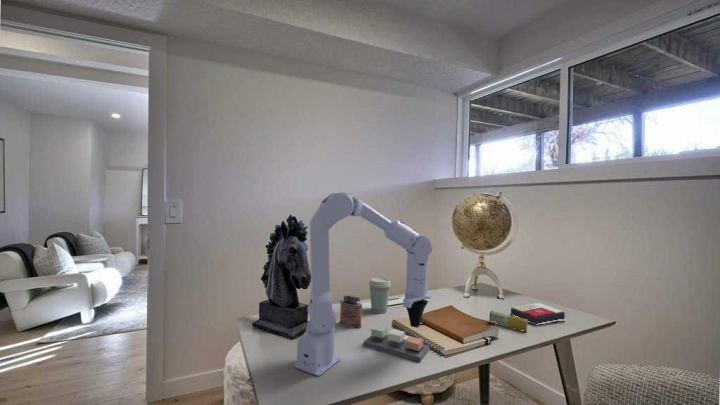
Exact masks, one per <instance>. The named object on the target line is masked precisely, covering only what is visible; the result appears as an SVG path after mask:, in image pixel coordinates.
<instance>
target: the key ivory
mask: <svg viewBox="0 0 720 405" xmlns="http://www.w3.org/2000/svg"><path fill="white" fill-rule="evenodd" d="M405 333H406V332H405V331H402V330H399V329H395V328H392V329H391V330H390V331H389V332H387V335H388V340H392V341H395V342H399V343H400V342H401V341H402V340H403V339H404V338H405V335H406V334H405Z"/></svg>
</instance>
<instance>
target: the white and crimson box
mask: <svg viewBox="0 0 720 405" xmlns="http://www.w3.org/2000/svg"><path fill="white" fill-rule="evenodd" d="M511 314H513V315H515V316H518V317H520V318H523V319H527V320H528V321H530V322H532V323H535V324H538V323H542V322H547V321H553V320H558V319H564V318H566V316H565V315H566V314H565V312H564V311H563V310H561V309H557V308H555V307H553V306H552V307H551V306H550V305H546V304H543V303H541V302H536V303H527V304H523V305H515V306H513V307H511V308H510V315H511Z"/></svg>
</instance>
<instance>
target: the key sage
mask: <svg viewBox="0 0 720 405" xmlns="http://www.w3.org/2000/svg"><path fill="white" fill-rule="evenodd" d="M388 329H389V328H388V326H383V325H380V324H376V325H374V326H373V327H372V328H371V330H370V336H371V335H374V336H377V337H381V338H383V337H384V336H385V335H386V334H387V335H388Z"/></svg>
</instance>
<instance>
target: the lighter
mask: <svg viewBox="0 0 720 405" xmlns="http://www.w3.org/2000/svg"><path fill="white" fill-rule="evenodd" d="M339 305H340V312H339V313H340V315H339V316H340V317H339V325H341V326H344V327H347V328H353V329H361V328H362V308H363V304H362V303H361V297H360V296H356V295H353V294H349V295H347V294H344V295H343V300H340V302H339Z"/></svg>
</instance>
